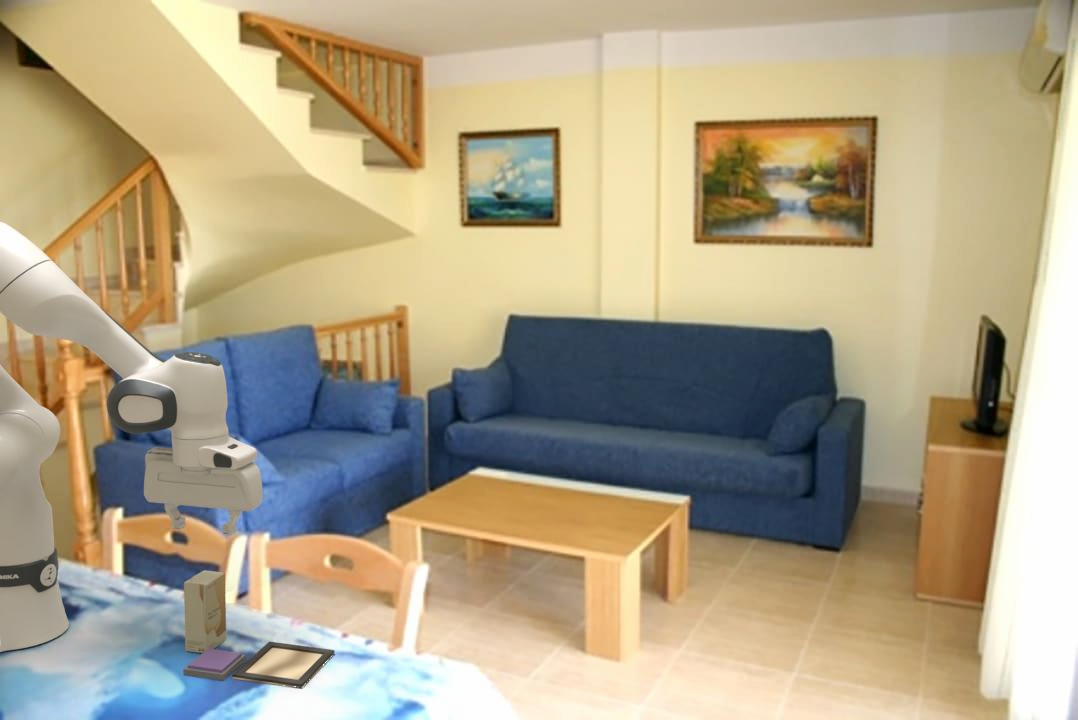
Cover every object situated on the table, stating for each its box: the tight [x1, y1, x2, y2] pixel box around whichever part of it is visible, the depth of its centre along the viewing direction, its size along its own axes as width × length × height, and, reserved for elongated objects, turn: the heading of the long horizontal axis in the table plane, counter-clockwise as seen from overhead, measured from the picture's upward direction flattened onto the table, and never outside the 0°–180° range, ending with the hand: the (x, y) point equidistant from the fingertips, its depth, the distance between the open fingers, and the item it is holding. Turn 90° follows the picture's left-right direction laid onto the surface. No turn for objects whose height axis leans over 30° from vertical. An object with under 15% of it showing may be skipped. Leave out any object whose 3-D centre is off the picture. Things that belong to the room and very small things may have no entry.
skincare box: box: [183, 569, 227, 654], centre depth 159 cm, size 6×4×12 cm
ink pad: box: [182, 648, 247, 682], centre depth 153 cm, size 7×7×2 cm
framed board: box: [231, 641, 335, 688], centre depth 154 cm, size 12×12×1 cm
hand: (204, 530), depth 157 cm, fingers open, 8 cm apart
